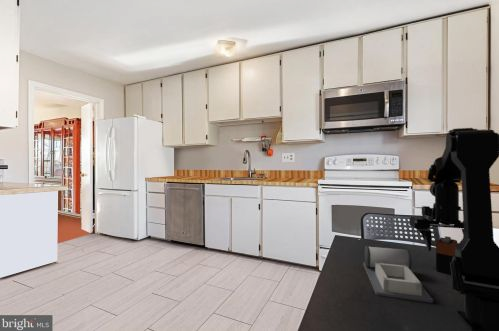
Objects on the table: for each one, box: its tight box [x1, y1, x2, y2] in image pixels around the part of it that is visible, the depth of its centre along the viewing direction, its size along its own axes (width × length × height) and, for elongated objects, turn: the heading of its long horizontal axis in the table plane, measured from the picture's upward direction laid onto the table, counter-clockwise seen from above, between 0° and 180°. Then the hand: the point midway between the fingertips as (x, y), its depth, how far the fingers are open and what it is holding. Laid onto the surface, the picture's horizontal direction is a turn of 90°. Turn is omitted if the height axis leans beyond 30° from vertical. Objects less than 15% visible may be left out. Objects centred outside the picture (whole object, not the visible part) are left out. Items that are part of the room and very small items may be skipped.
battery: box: [435, 236, 458, 275], centre depth 76 cm, size 4×7×10 cm, turn 133°
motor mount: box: [362, 245, 434, 304], centre depth 69 cm, size 20×12×7 cm, turn 164°
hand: (446, 252), depth 76 cm, fingers open, 9 cm apart
